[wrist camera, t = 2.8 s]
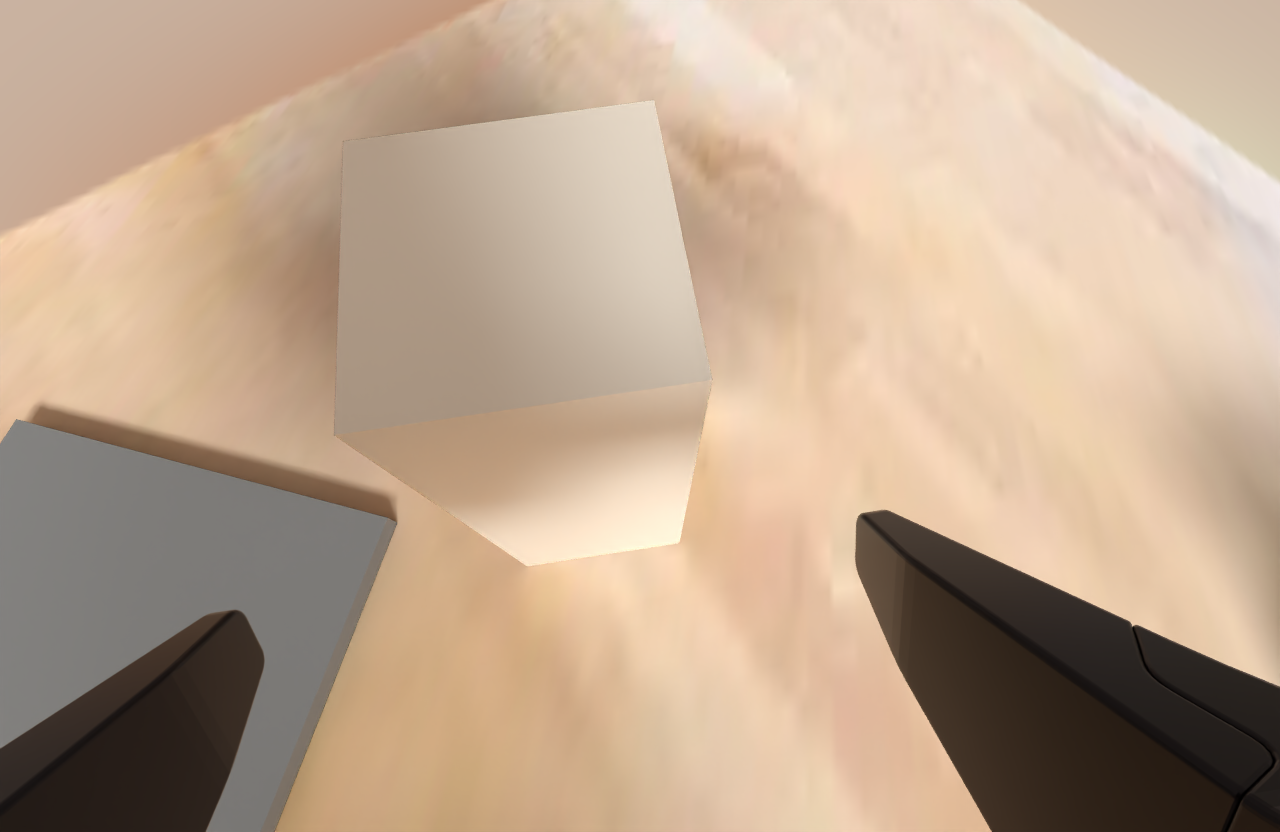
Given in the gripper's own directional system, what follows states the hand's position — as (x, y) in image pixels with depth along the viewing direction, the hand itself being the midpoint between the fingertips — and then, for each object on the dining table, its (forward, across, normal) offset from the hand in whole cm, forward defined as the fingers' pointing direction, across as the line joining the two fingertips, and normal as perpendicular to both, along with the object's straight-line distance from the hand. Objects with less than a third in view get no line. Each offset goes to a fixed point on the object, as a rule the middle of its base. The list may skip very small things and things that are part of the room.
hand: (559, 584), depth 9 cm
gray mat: (+8, +16, +8) cm, 19 cm away
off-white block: (+11, 0, +5) cm, 12 cm away
